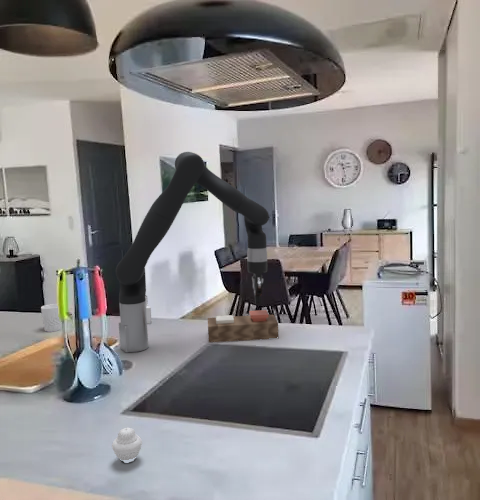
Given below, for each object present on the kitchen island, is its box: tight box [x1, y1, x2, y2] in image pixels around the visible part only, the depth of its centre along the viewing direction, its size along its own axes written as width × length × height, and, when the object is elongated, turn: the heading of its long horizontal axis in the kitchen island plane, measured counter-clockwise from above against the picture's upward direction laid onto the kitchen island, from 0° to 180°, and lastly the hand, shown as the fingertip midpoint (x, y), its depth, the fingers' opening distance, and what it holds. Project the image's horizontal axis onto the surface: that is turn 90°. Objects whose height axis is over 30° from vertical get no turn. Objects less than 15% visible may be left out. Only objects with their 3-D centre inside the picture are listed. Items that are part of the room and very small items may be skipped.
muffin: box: [111, 427, 143, 460], centre depth 101 cm, size 6×6×7 cm
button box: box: [207, 314, 279, 343], centre depth 182 cm, size 26×12×6 cm, turn 94°
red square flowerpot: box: [248, 309, 269, 322], centre depth 183 cm, size 7×7×6 cm
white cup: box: [40, 303, 62, 333], centre depth 198 cm, size 8×8×10 cm
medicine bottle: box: [146, 295, 153, 325], centre depth 204 cm, size 7×7×12 cm
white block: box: [215, 314, 234, 324], centre depth 182 cm, size 7×7×6 cm
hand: (258, 304), depth 182 cm, fingers closed
